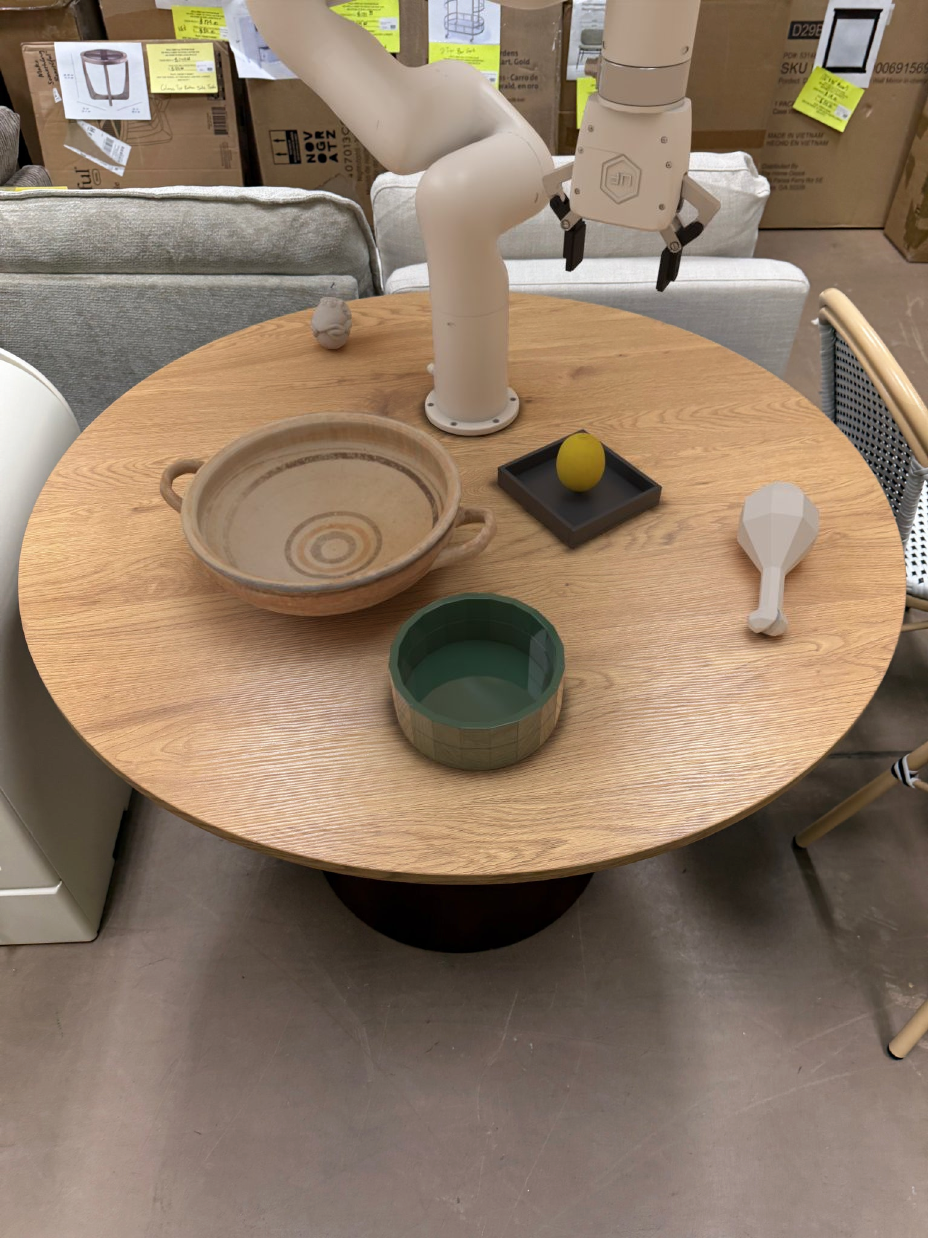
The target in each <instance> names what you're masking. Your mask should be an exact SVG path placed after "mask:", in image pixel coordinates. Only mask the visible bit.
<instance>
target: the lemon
mask: <svg viewBox="0 0 928 1238" xmlns="http://www.w3.org/2000/svg"><path fill="white" fill-rule="evenodd" d="M590 434H591V433H589V434H587V433H577V434H574V435H572V436H570V437H568V438H567V439H566V440H565V441H564V442H563V444H562V445H561V447H560V450H559V453H558V456H557V462H556V468H557V474H558V477H559V479H560V481H561V482H562V484H563V485H564V486H565V487H567V488H568V489H570V490H573V491H577V492H582V491H587V490H589V489H591V488H593V487H594V486H595V485H596V484H597V483H598V482H599V481H600V479H601V477H602V475H603V472H604V468H605V454H604V449H603V447H602V445H601V443H600V442H601V441H600V440H599V439H598V438H597V437H595V436H594V435H593V434H591V435H590Z"/></svg>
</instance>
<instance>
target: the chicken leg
mask: <svg viewBox="0 0 928 1238" xmlns="http://www.w3.org/2000/svg"><path fill="white" fill-rule="evenodd" d="M737 525H738V526H737V534H736V536H737V537H736V541H737V543H738V544H739V545H740V547H741V548H742V549H743V550H744V552H745V553H746V555H747V556H748V557H749V559H750V560H751V562H752V563H753V565H754V566H755V567H756V569H757V570H758V571H759V572H760V574H761V575H760V584H759V596H758V606H757V609H755V610H753V611H752V612H750V613H749V614H748V617H747V624H746V625H747V628H748V629H749V630H751V631H752V632H753V633H754V634H758V633H762V634H765V635H768V636H772V637H776V636H779V635H782V634H784V633H786V632H787V630H788V627H789V621H788V617H787V616H786V615H785V614H784V612H783V604H784V593H785V592H784V590H785V578H786V576H787V575H788V574H789V573H790V572H791V571H792V570H793V569H794V568H795V567H796V566H798V564H799V563H801V561H803V560H804V559H805V558H807V556H808V555H809V554H810V553H811V552H812V550H813V548H814V545H815V543H816V541H817V538H818V536H819V533H820V532H819V530H820V509H819V508H818V507H817V506H816V504H815V503H814V502H813V501H812V500H811V499H810V498H809V497H808V496H807V495H806V493H805V492H804V491H803V490H802V489H800V488H799V486H798V485H796V484H795V483H793V482H787V481H781V480H780V481H779V480H776V481H773V482H772V483H768V484H765V485H762V486H761V487H760V488H758V489H757V490H755V491H754V492H753V493H751V494H749V495H748V496H746V497H745V498H744V502H743V505H742V508H741V510H740V514H739V517H738V524H737Z"/></svg>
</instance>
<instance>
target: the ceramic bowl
mask: <svg viewBox="0 0 928 1238" xmlns="http://www.w3.org/2000/svg"><path fill="white" fill-rule="evenodd" d="M188 474H192V475H193V477H192V478H191V480H190V482H189V483H188V484H187V487H186V490H185V493H184V495H183V496H182V497H181V496H180V495H179V494H178V493H176V492H175V491H174V489H173V488H172V487H173V483H174V481H175V479H177V478H179V477H181V476H184V475H188ZM462 485H463V483H462V479H461V474H460V471H459V466H458V465H457V463H456V461H455V460H454V457H453V456H452V454H451V452H449V451H448V450H447V448H446V447H445V446H444V445H443V444H442V443H441V442H440V441H439V440H437V439H436V438H435V437H434V436H432V435H431V434H430V433H429V432H427V431H425V430H423V429H421V428H419V427H417V426H416V425H414V424H411V423H410V422H406V421H404V420H400V419H398V418H395V417H391V416H387V415H383V414H377V413H372V412H364V411H352V410H336V411H335V410H333V411H332V410H331V411H330V410H329V411H319V412H310V413H304V414H299V415H295V416H289V417H285V418H282V419H278V420H275V421H272V422H269V423H266V424H263V425H260V426H259V427H256V428H254V429H252V430H250V431H247V432H245V433H243V434H242V435H240V436H238V437H236V438H234V439H233V440H231V441H229V442H228V443H226V444H225V445H223V446H221V448H220V449H218V450H217V451H216V452H215V453H213V454H212V455H211V456H210V457H209V458H208V459H207V460H206V461H202V460H198V459H193V458H183V459H180V460H177V461H175V462H174V463H172V464H170V465H168V466H167V467H166V468H164V471H163V472H162V474H161V477H160V480H159V494H160V496H161V497H162V499H163V500H164V502H165V503H166V504H167V505H168V506H169V507H171V508H172V509H173V510H174V511H176V513H178V514H179V515H180V522H181V528H182V532H183V535H184V537H185V539H186V541H187V542H188V545H189V547H190V549H191V550H192V552H194V556H195V557H196V559H197V561H198V563H199V564H200V566H201V567H202V568H203V569H204V570H205V571H206V572H207V574H208V575H209V576H210V577H211V579H213V581H214V582H216V583H217V584H218V585H219V586H220V587H222V588H223V589H224V590H226V592H228V593H230V594H231V595H233V596H234V597H236V598H238V599H239V600H242V601H244V602H246V603H248V604H251V605H253V606H255V607H257V608H260V609H265V610H268V611H270V612H274V613H279V614H283V615H291V616H299V617H328V616H336V615H344V614H349V613H353V612H354V613H355V612H357V611H361V610H364V609H368V608H371V607H373V606H376V605H379V604H381V603H383V602H386V601H389V600H390V599H392V598H394V597H395V596H397V595H399V594H401V593H403V592H404V591H406V590H408V589H409V588H410V587H412V586H413V585H414V584H416V583H417V582H419V580H421V579H422V578H423V577H424V576H426V574H428V572H431V571H435V570H438V569H442V568H446V567H450V566H454V565H457V564H462V563H464V562H467V561H468V560H471V559H474V558H476V557H477V556H478V555H480V554H481V553H483V552H484V551H485V549H486V548H487V547H488V546H489V544H490V543H491V542H492V540H493V539H494V537H495V536H496V533H497V529H498V521H497V517H496V514H495V513H494V511H492V509H489V508H486V507H465V506H460V504H461V500H462ZM472 524H484V527H483V528H481V529H482V530H480V532H479V533H478V534H477V535H476V536H475V537H474V538H473V539H471V540H470V541H468V542H466V543H463V544H461V545H458V546H455V547H448V546H449V545H450V543H451V540H452V539H453V536H454V533H455V530H456V529H458V528H461V527H463V526H467V525H472Z"/></svg>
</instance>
